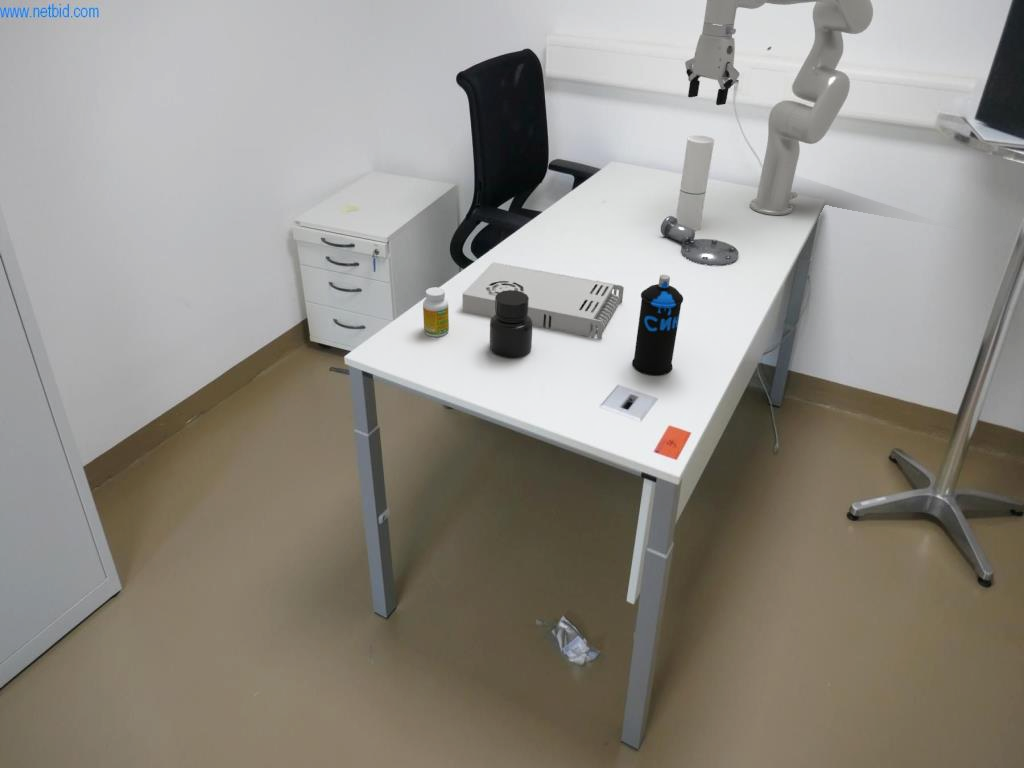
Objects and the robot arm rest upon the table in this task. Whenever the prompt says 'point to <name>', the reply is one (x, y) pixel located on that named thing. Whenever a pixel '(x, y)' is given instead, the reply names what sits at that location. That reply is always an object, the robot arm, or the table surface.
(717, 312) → the table surface
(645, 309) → the aerosol can
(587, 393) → the table surface
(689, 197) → the cylindrical container
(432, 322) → the supplement bottle
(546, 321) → the power supply unit
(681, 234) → the flange fitting
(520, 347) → the ink bottle
